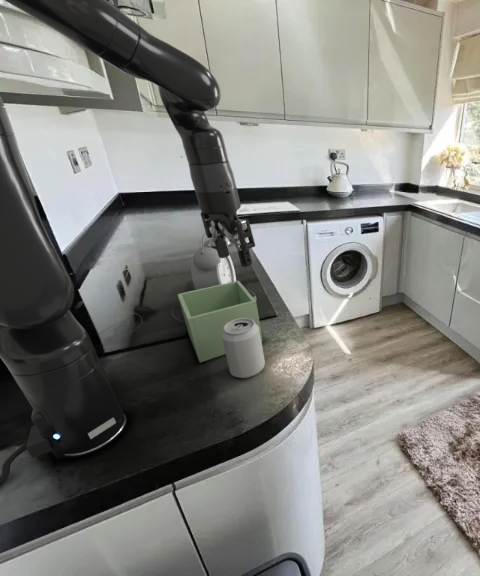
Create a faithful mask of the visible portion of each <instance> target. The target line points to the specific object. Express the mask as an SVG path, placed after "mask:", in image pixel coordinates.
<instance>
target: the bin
mask: <svg viewBox="0 0 480 576" xmlns="http://www.w3.org/2000/svg"><path fill="white" fill-rule="evenodd" d="M177 298H178V301H179V305H180V308H181V312H182V315H183V319H184V322H185V326H186V329H187V330H186V331H187V334H188V336H189V338H190V341H191V344H192V346H193V349H194V351H195V354H196V357H197V359H198V361H199V363H203V362H206V361H209V360H213V359H215V358H218V357H221V356H224V355H226V353H225V349H224V345H223V341H222V336H221V334H222V332H223V327H224V325H225V324H227V323H228V322H230V321H232V320H234V319H238V318H249V319H252V320H254V322H255V324H257V325H258V327H259V331H260V336H261V342H263V341H264V340H263V335H262V329H261V323H260V322H261V321H260V316H259V312H258V305H257V301H256V299H255V298H254V297H253V296H252V294H251V293H250V292H249V291H248V290H247V289H246V287H245V286H244V284H242V283H241V281H240V280H236V281H234V282H230V283H225V284H221V285H216V286H212V287H207V288H203V289H198V290H195V289H193V290H190V291H185V292H181V293H177Z"/></svg>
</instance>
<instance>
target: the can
mask: <svg viewBox="0 0 480 576" xmlns="http://www.w3.org/2000/svg"><path fill="white" fill-rule="evenodd" d="M221 336H222V341H223V345H224V349H225V353H226V354H225V357H226V363H227V366H228V371H229V373H230V375H231V376H233V377H235V378H239V379H247V378H252V377H254V376H256V375H257V374H259V373H260V372H262V370H263V368H264V367H265V364H266V362H265V360H266V359H265V353H264V349H263V344H262V342H261V336H260V331H259V327H258V325H257V324H255V322H254V320H252V319H249V318H238V319H234V320H232V321H230V322H228V323H227V324H225V325H224V327H223V332H222V334H221Z"/></svg>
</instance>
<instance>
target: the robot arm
mask: <svg viewBox="0 0 480 576" xmlns="http://www.w3.org/2000/svg"><path fill="white" fill-rule="evenodd" d="M4 2H6V3H8V4H9V5H12V6H14V7H16V8H17V9H19V10H20V11H22V12H24V13H25V14H27V15H29V16H31V17H32V18H34V19H36V20H38V21H39V22H41V23H43V24H44V25H45V26H48V27H50V28H51V29H53V30H54V31H56V32H58V33H59V34H61V35H63V36H64V37H66V38H68V39H69V40H70V41H72V42H74V43H75V44H77V45H79V46H80V47H82V48H84V49H85V50H86V51H89V52H90V53H91V54H93V55H95V56H96V57H97V58H99V59H101V60H102V61H104V62H106V63H108V64H109V65H111V66H113V67H114V68H116V69H118V70H119V71H121V72H122V73H124V74H126V75H128V76H130V77H132V78H135V79H137V80H143V81H147V82H150V83H152V84H154V85H156V86H157V89H158V93H159V96H160V100H161V102H162V105H163V107H164V109H165V111H166V113H167V115H168V117H169V119H170V121H171V123H172V125H173V127H174V129H175V131H176V132H177V134H178V136H179V137H180V139H181V143H182V148H183V151H184V153H185V154H184V155H185V157H186V161H187V164H188V168H189V175H190V179H191V183H192V186H193V189H194V192H195V196H196V199H197V203H198V205H199V209H200V217H201V221H202V225H203V227H204V231H205V232H204V233H206V235H205V236H206V238H207V239H212V241H213V242H214V243H215V246H216V249H217V252H218V256H219V257H220V258H225V257H227V256H229V255H230V251H229V249H228V248H229V246H228V247H227V244H226V240H224V239H225V237H227V238H228V240H229V241H230V242H231V244H233V245H234V247H235V248H236V250H237V255H238V258H239V263H240V265H241V267H242V268H247V267H249V266H252V264H253V261H252V256H251V252H250V249H252V248H255V247H256V243H255V239H254V235H253V232H252V228H251V224H250V220H249V219H248V218H243V219H240V218H239V216H238V213H237V212H238V210H239V209H241V205H242V204H241V201H240V196H239V192H238V188H237V184H236V178H235V175H234V172H233V168H232V166H231V164H230V161H229V157H228V151H227V148H226V144H225V140H224V137H223V134H222V132H221V131H220V130H219V129H217V128H215V127H214V126H213V125H211V124H210V121H209V119H208V117H207V114H206V112H209V111H212V110H213V109H214V110H215V108H217V107H218V105H219V104H220V102H221V98H222V97H221V96H222V93H221V88H220V84H219V82H218V81H217V79H216V78H215V76H214V75H213V73H212V72H211V71H210V70H209V69H208V68H207V67H206V66H205V65H204V64H203V63H201V62H200V61H198V60H196V59H195V58H194V57H192V56H191V55H189V54H187V53H185V52H184V51H182V50H180V49H179V48H177V47H175V46H173V45H172V44H170V43H168V42H166V41H164V40H162V39H160V38H158V37H157V36H155V35H153V34H151V33H150V32H149V31H147V30H146V29H145V28H143V27H142V26H141V25H139V24H138V23H137V22H135V20H133V19H132V18H131V17H129V16H128V15H127V14H125V13H123V11H121V10H119V9H118V7H116V6H114V5H113V4H112V3H111V2H109V1H107V0H4ZM74 288H75V287H74V284H73V281H72V279H71V276H70V275H69V273H68V272H67V269H66V268H65V266H64V264H63V262H62V260H61V257H60V256H59V254H58V253H57V250H56V248H55V247H54V244H53V243H52V240H51V238H50V236H49V234H48V232H47V229H46V228H45V225H44V223H43V221H42V218H41V215H40V212H39V209H38V205H37V201H36V198H35V194H34V191H33V187H32V184H31V181H30V178H29V175H28V172H27V169H26V166H25V163H24V160H23V157H22V154H21V151H20V147H19V144H18V140H17V138H16V134H15V131H14V128H13V125H12V123H11V120H10V118H9V115H8V111H7V110H6V107H5V104H4V101H3V98H2V96H1V95H0V359H1V361H2V362H3V364H4V365H5V366H6V368H7V369H8V371H9V373H10V374H11V376H12V377H13V379H14V381H15V382H16V384H17V386H18V387H19V389H20V390H21V392H22V394H23V395H24V397H25V398H26V400H27V402H28V403H29V405H30V406H31V409H32V413H31V417H30V418H31V421H32V423H33V424H34V425H32V426H31V427H30V431H29V435H28V439H27V441H26V443H24V444H23V445H22V446H20V447H19V448H18V449H16V450H15V451H14V452H13V453H11V454H10V455H9V456H8V457H7V458H6V460H5V461H4V462H3V464H2V467H1V475H0V485H1V484H3V483H4V482H5V481H6V480H7V479H8V478H9V477H10V474H11V465H12V463H13V462H14V461H15V459H17V458H18V457H19V456H20V455H21V454H22V453H24V452H26V451H28V452H29V454H30V456H31V457H32V458H34V459H35V458H37V457H39V456H42V455H45V454H47V453H50V452H51V453H52V454H53V456H54V457H55V459H56V461H59V460H63V459H65V458H68V459H74V458H81V457H86V456H88V455H91V454H94V453H96V452H98V451H100V450H102V449H104V448H105V447H107V446H109V445H110V444H111V443H113V442H114V441H115V440H116V439H118V438H119V437H120V436H121V434H122V433H123V432H124V431H125V429H126V427H127V424H128V419H127V416H126V414H125V413H124V410H123V408H122V407H121V405H120V403H119V401H118V398H117V396H116V394H115V391H114V389H113V387H112V385H111V382H110V380H109V378H108V376H107V374H106V372H105V369H104V367H103V365H102V362H101V360H100V359H99V356H98V354H97V351H96V349H95V347H94V345H93V343H92V341H91V338H90V336H89V334H88V331H87V330H86V329H85V328H84V326H83V325H82V324H81V323H80V322H79V321H78V320H77V318H76V317H75V316H74V315H73V313H72V312H71V310H70V309H71V307H72V304H73V302H74V296H75V289H74Z"/></svg>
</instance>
